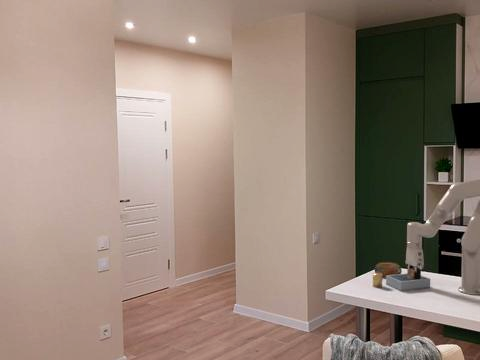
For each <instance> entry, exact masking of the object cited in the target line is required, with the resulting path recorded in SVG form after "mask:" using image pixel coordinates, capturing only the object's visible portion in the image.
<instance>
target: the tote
mask: <svg viewBox="0 0 480 360" xmlns="http://www.w3.org/2000/svg"><path fill="white" fill-rule="evenodd" d="M385 285H386V286H388V287H390V288H393V289H395V290H397V291H399V292H406V291H415V290H416V291H417V290H425V289H426V290H427V289H431V278H430V277H429V278H428V277H427V276H424V275H421V279H419V280H411V279H409V278H407V273H401V274H397V275H386V277H385Z"/></svg>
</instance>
